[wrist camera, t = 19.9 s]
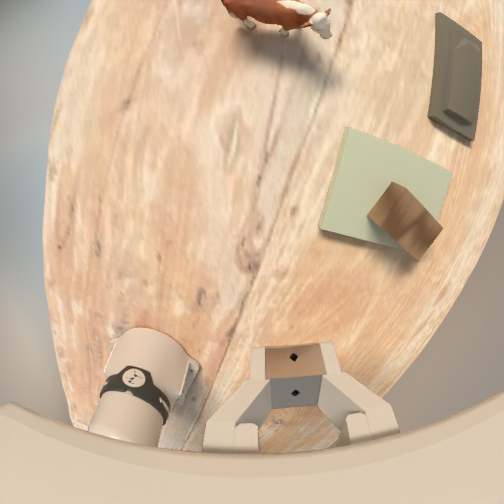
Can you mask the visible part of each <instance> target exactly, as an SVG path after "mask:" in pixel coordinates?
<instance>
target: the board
mask: <svg viewBox="0 0 504 504" xmlns="http://www.w3.org/2000/svg"><path fill="white" fill-rule="evenodd" d="M451 176H452V172H451V171H449V170H447V169H445V168H443V167H441V166H439V165H437V164H435V163H433V162H431V161H429V160H427V159H425V158H423V157H421V156H419V155H417V154H415V153H412V152H410V151H408V150H406V149H404V148H401V147H399V146H397V145H394V144H392V143H390V142H387V141H385V140H382V139H380V138H377V137H375V136H372V135H370V134H367V133H364V132H362V131H359V130H356V129H353V128H350V127H345V130H344V134H343V138H342V142H341V146H340V149H339V153H338V157H337V160H336V164H335V168H334V171H333V175H332V178H331V182H330V185H329V189H328V192H327V196H326V199H325V202H324V206H323V209H322V212H321V216H320V219H319V222H318V225H319V227H320V229H323V230H327V231H331V232H335V233H339V234H343V235H347V236H351V237H354V238H358V239H362V240H366V241H370V242H374V243H377V244H381V245H385V246H388V247H392V248H396V249H399V250H403V251H406V250H405V249H404V248H403V247H402V246H401V245H400V244H399V243H398V242H396V241H395V240H394V239H393V238H392V237H391V236H390V235H389V234H387V233H386V232H385V231H384V230H383V229H382V228H381V227H379V226H378V225H377V224H376V223H375V222H374V221H373V220H371V219H370V218H369V217H368V216H367V214H368V213H369V212H370V210H371V209H372V208H373V206H374V205H375V204H376V202H377V201H378V200H379V198H380V197H381V196H382V194H383V193H384V192H385V190H386V189H387V188H388V186H389V185H390V184H391V182H395V183H397V184H399V185H401V186H403V187H405V188H407V189H408V190H409V191H410V192H411V193H412V195H413V196H414V197H415V198H416V199H417V200H418V201H419V202H420V203H421V204H422V205H423V206H424V207H425V208H426V209H427V211H428V212H429V213H430V214H431V215H432V216H433V217H434V218H435V220H436V221H437V219H438V217H439V214H440V211H441V208H442V205H443V202H444V199H445V196H446V193H447V190H448V186H449V183H450V180H451ZM406 252H407V251H406ZM423 255H424V254H423Z"/></svg>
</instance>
